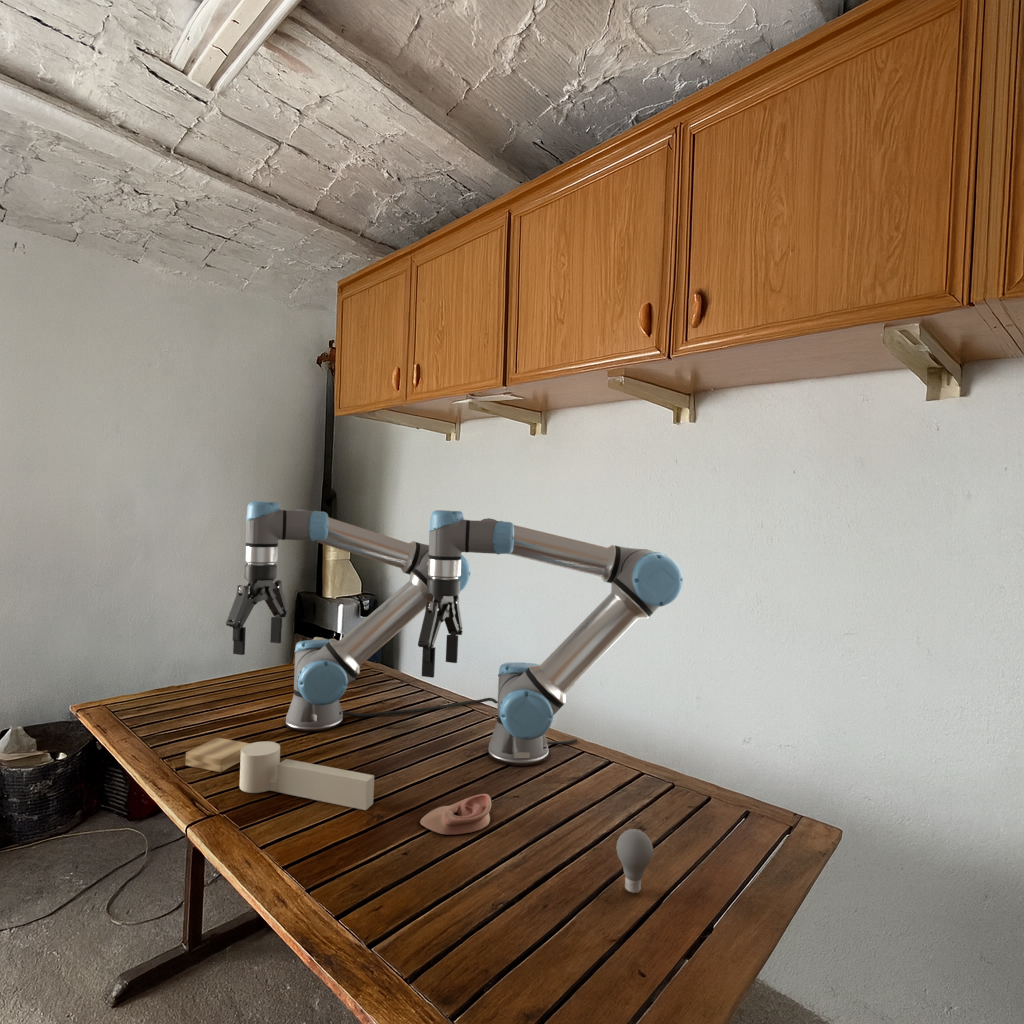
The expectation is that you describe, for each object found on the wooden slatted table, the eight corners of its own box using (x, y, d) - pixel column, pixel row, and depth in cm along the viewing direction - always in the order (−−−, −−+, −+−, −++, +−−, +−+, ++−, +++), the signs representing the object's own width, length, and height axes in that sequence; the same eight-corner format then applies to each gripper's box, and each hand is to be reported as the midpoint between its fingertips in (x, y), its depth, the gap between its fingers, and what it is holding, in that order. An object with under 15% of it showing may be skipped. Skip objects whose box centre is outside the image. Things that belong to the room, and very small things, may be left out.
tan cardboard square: (185, 765, 146) (185, 752, 146) (217, 749, 156) (217, 737, 156) (220, 772, 143) (221, 759, 143) (251, 756, 153) (251, 743, 153)
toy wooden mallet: (231, 789, 135) (232, 752, 135) (256, 774, 143) (257, 739, 143) (359, 816, 126) (361, 776, 126) (379, 798, 134) (380, 761, 134)
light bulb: (610, 879, 108) (613, 822, 108) (644, 879, 109) (647, 822, 109) (619, 902, 102) (622, 840, 102) (655, 901, 103) (658, 840, 103)
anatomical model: (415, 809, 122) (434, 784, 133) (414, 830, 122) (433, 802, 133) (482, 819, 119) (496, 792, 130) (481, 840, 119) (495, 811, 130)
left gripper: (280, 558, 171) (277, 636, 171) (211, 566, 147) (208, 657, 147) (304, 560, 168) (301, 639, 169) (238, 569, 145) (235, 661, 145)
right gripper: (449, 571, 159) (446, 655, 159) (404, 582, 135) (400, 681, 135) (477, 573, 157) (474, 658, 157) (437, 584, 133) (432, 685, 133)
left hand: (258, 648), depth 158 cm, fingers open, 13 cm apart
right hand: (440, 669), depth 146 cm, fingers open, 13 cm apart
